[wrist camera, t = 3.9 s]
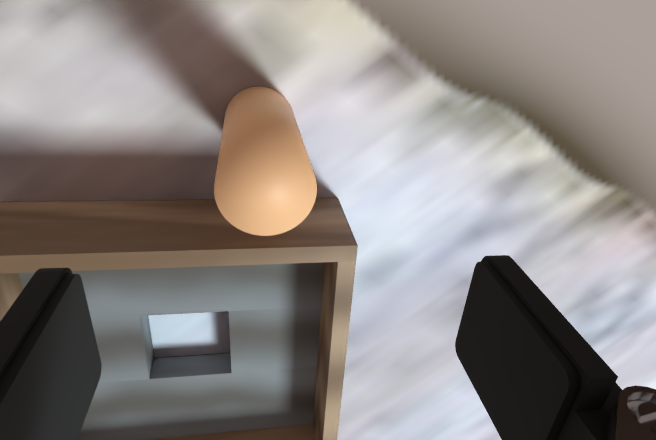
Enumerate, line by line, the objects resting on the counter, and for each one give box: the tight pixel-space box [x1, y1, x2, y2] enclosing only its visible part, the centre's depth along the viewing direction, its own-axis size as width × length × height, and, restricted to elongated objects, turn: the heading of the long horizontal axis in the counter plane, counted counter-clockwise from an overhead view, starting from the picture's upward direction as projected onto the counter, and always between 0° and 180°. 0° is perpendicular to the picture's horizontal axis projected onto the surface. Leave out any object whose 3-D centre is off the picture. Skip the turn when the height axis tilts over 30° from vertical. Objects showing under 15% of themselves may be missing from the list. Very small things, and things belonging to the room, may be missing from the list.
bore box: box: [0, 198, 358, 440], centre depth 30 cm, size 20×20×6 cm
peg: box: [214, 86, 317, 236], centre depth 22 cm, size 4×4×10 cm
